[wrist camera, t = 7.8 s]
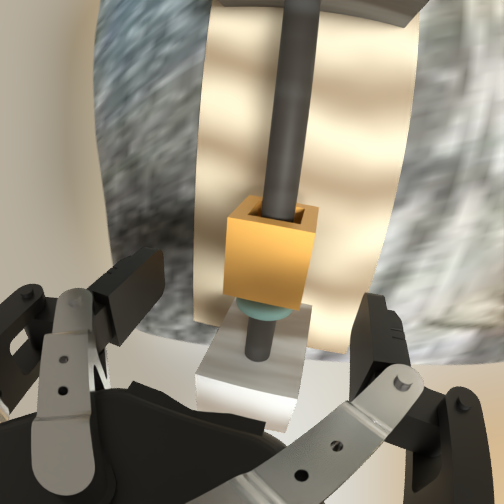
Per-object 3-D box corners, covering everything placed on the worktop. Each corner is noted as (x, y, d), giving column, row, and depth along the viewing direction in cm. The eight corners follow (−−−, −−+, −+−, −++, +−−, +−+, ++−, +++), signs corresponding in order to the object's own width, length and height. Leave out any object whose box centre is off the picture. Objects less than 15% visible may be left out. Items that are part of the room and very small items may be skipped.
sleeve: (249, 194, 17) (227, 217, 13) (319, 207, 16) (315, 233, 13) (242, 259, 18) (222, 293, 15) (306, 272, 18) (299, 310, 14)
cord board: (224, -29, 16) (147, -101, 6) (414, -8, 13) (468, -82, 3) (199, 311, 29) (142, 400, 19) (345, 343, 27) (340, 451, 17)
